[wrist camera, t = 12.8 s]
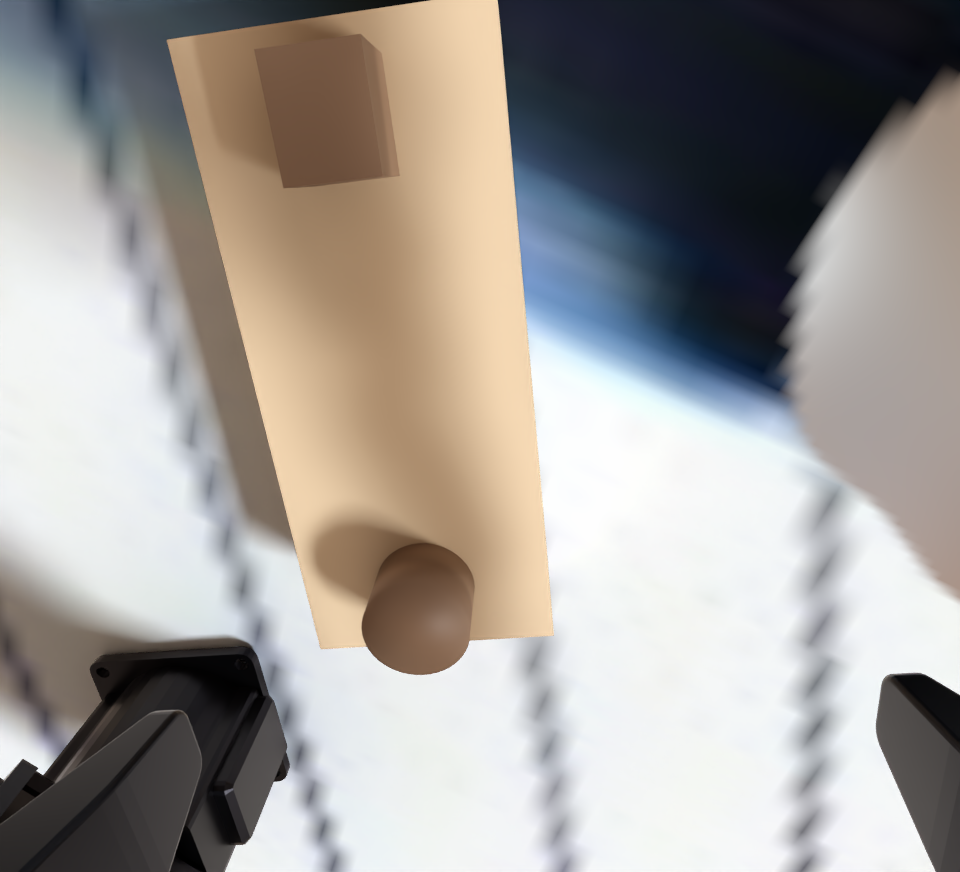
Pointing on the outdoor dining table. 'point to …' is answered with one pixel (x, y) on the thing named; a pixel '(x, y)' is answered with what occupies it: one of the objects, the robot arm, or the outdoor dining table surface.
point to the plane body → (382, 314)
